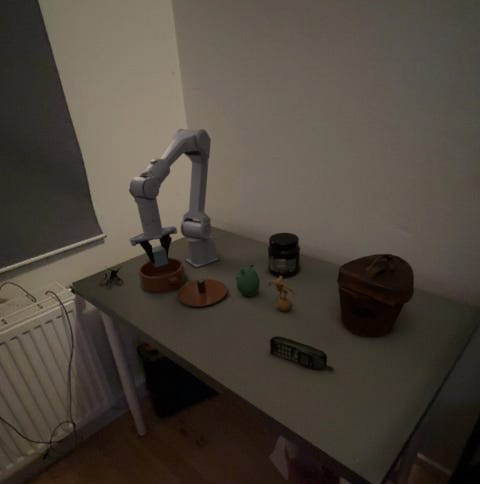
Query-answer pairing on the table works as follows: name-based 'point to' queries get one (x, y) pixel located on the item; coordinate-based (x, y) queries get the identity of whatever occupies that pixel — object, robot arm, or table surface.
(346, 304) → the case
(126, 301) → the table surface
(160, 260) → the block
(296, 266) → the supplement container
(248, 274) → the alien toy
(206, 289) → the lid
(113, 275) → the creature
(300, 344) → the mobile phone
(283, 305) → the figurine
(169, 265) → the pot
